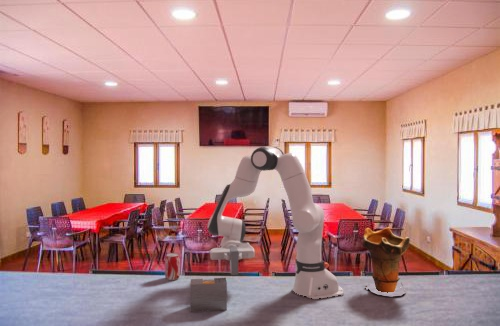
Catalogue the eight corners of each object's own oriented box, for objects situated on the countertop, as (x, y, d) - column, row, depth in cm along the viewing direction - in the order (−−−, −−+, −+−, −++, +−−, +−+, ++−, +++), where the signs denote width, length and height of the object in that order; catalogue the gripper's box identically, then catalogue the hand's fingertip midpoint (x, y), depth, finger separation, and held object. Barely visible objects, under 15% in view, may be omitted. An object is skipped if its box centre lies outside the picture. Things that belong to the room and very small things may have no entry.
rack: (225, 303, 151) (225, 276, 151) (226, 310, 145) (226, 281, 145) (190, 305, 149) (190, 277, 149) (190, 312, 143) (190, 283, 143)
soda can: (176, 281, 177) (176, 257, 176) (162, 280, 178) (162, 256, 178) (182, 276, 184) (181, 253, 183) (168, 275, 185) (168, 252, 185)
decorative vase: (382, 303, 152) (381, 235, 152) (352, 286, 174) (351, 226, 174) (424, 297, 158) (423, 232, 158) (389, 281, 180) (388, 224, 180)
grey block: (236, 268, 162) (236, 246, 162) (238, 274, 154) (238, 251, 154) (229, 268, 162) (229, 246, 162) (231, 275, 154) (231, 251, 154)
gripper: (209, 244, 171) (209, 252, 158) (252, 242, 174) (256, 250, 160) (209, 257, 172) (209, 266, 158) (252, 255, 174) (256, 264, 161)
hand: (233, 258), depth 159 cm, fingers closed on grey block, 3 cm apart
